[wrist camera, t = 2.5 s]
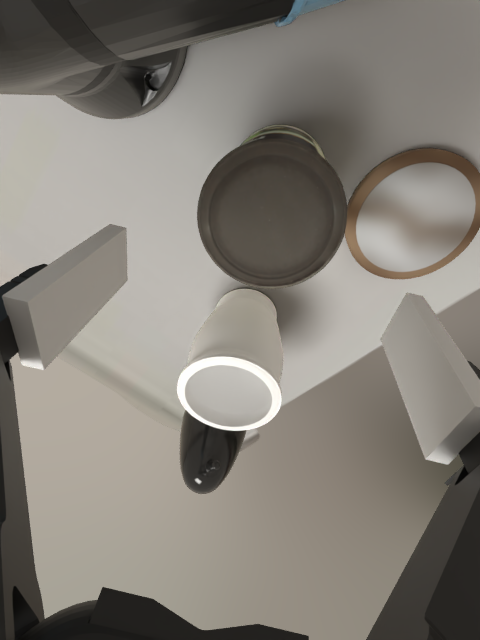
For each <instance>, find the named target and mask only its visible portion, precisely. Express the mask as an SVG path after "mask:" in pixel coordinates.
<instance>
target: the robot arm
mask: <svg viewBox="0 0 480 640" xmlns="http://www.w3.org/2000/svg"><path fill="white" fill-rule="evenodd" d="M342 1H345V0H0V94H21V95H56V96H57V97H59V98H60V99H62V100H63V101H65V102H67V103H68V104H70V105H71V106H73V107H75V108H76V109H78V110H80V111H82V112H85V113H87V114H90V115H93V116H96V117H100V118H106V119H123V118H132V117H136V116H140V115H142V114H145V113H147V112H149V111H150V110H152V109H154V108H155V107H156V106H158V105H159V104H160V103H161V102H162V101H163V100H164V99H165V98H166V97H167V95H168V94H169V93H170V91H171V90H172V88H173V87H174V85H175V83H176V81H177V79H178V77H179V74H180V72H181V69H182V66H183V63H184V59H185V55H186V50H187V45H191V44H195V43H199V42H202V41H206V40H210V39H214V38H217V37H221V36H225V35H229V34H232V33H236V32H240V31H244V30H247V29H251V28H255V27H259V26H263V25H266V24H270V23H275V25H276V26H277V27H280V26H285V25H288V24H290V23H291V22H292V21H293V20H295V19H296V18H297V16H299V15H302V14H305V13H308V12H311V11H314V10H317V9H320V8H323V7H326V6H329V5H332V4H336V3H339V2H342ZM126 281H127V238H126V228H125V227H120V226H116V225H112V224H109V225H108V226H106V227H105V228H103V229H102V230H100V231H99V232H97V233H96V234H94V235H93V236H91V237H90V238H88V239H87V240H85V241H84V242H82V243H81V244H79V245H78V246H76V247H75V248H73V249H72V250H70V251H69V252H67V253H66V254H64V255H63V256H61V257H60V258H58V259H57V260H55V261H54V262H52V263H51V264H49V265H46V264H42V265H39V266H35V267H32V268H29V269H28V270H26V271H24V272H23V273H21V274H20V275H19V276H17V277H15V278H13V279H12V280H11V282H7V283H5V284H4V285H2V286H1V287H0V640H309V637H308V636H306V635H302V634H298V633H294V632H289V631H285V630H281V629H277V628H273V627H268V626H264V625H260V624H254V625H246V626H238V627H230V628H223V629H216V630H201V629H198V628H197V627H195V626H193V625H192V624H190V623H189V622H187V621H186V620H184V619H183V618H181V617H180V616H178V615H177V614H175V613H174V612H172V611H170V610H169V609H167V608H166V607H164V606H163V605H161V604H160V603H158V602H157V601H155V600H154V599H151V598H147V597H142V596H138V595H134V594H129V593H126V592H121V591H117V590H113V589H109V588H104V587H103V588H102V590H101V593H100V595H99V598H98V600H93V601H87V602H83V603H79V604H76V605H73V606H71V607H68V608H66V609H63V610H61V611H59V612H57V613H55V614H53V615H51V616H50V617H48V618H46V619H45V618H44V611H43V604H42V598H41V593H40V589H39V585H38V581H37V577H36V571H35V564H34V556H33V547H32V539H31V530H30V521H29V513H28V504H27V495H26V486H25V478H24V469H23V461H22V453H21V443H20V435H19V426H18V418H17V409H16V402H15V401H16V400H15V391H14V384H13V374H12V366H11V363H10V359H11V357H13V356H14V355H15V354H16V353H17V352H18V353H19V357H20V360H21V364H22V365H24V366H29V367H33V368H37V369H41V370H44V369H45V368H46V367H47V366H48V365H49V364H50V363H51V362H52V361H53V360H54V359H55V358H56V357H57V356H58V354H59V353H60V352H61V351H62V350H63V349H64V348H65V347H66V346H67V345H68V344H69V343H70V342H71V341H72V339H73V338H74V337H75V336H76V335H77V334H78V333H79V332H80V331H81V330H82V329H83V328H84V327H85V325H86V324H87V323H88V322H89V321H90V320H91V319H92V318H93V317H94V316H95V315H96V314H97V313H98V311H99V310H100V309H101V308H102V307H103V306H104V305H105V304H106V303H107V302H108V301H109V300H110V299H111V298H112V296H113V295H114V294H115V293H116V292H117V291H118V290H119V289H120V288H121V287H122V286H123V285H124V284H125V282H126ZM381 342H382V344H383V347H384V350H385V352H386V355H387V358H388V360H389V363H390V366H391V369H392V371H393V374H394V377H395V379H396V382H397V384H398V387H399V390H400V393H401V395H402V398H403V401H404V403H405V406H406V409H407V411H408V414H409V417H410V419H411V422H412V425H413V427H414V430H415V433H416V436H417V438H418V441H419V443H420V446H421V449H422V452H423V454H424V457H425V459H426V460H430V461H435V462H439V463H443V464H449V463H450V462H451V461H452V460H453V459H454V458H455V457H456V456H457V455H458V454H459V455H460V457H461V459H462V462H463V464H464V465H463V466H462V467H461V468H460V469H459V470H458V471H457V472H456V473H455V474H454V475H452V476H451V478H449V479H448V480H447V481H446V482H445V484H446V485H449V484H450V485H449V487H448V489H447V491H446V493H445V495H444V497H443V498H442V500H441V502H440V504H439V506H438V508H437V510H436V511H435V513H434V515H433V517H432V519H431V521H430V522H429V524H428V526H427V528H426V530H425V532H424V534H423V535H422V537H421V539H420V541H419V543H418V545H417V546H416V548H415V550H414V552H413V554H412V556H411V558H410V560H409V561H408V563H407V565H406V567H405V569H404V571H403V572H402V574H401V576H400V578H399V580H398V582H397V584H396V585H395V587H394V589H393V591H392V593H391V595H390V596H389V598H388V600H387V602H386V604H385V606H384V608H383V610H382V611H381V613H380V615H379V617H378V619H377V621H376V622H375V624H374V626H373V628H372V630H371V632H370V634H369V635H368V637H367V639H366V640H480V370H479V369H478V368H477V367H476V366H475V365H473V364H472V363H471V362H469V361H467V360H466V359H465V357H464V356H463V355H462V353H461V351H460V350H459V349H458V347H457V346H456V344H455V343H454V341H453V340H452V338H451V337H450V335H449V334H448V332H447V331H446V329H445V328H444V326H443V325H442V323H441V322H440V320H439V319H438V318H437V316H436V314H435V313H434V312H433V310H432V309H431V307H430V306H429V304H428V303H427V301H426V300H425V298H424V297H423V296H420V295H415V294H411V293H406V295H405V297H404V298H403V300H402V302H401V304H400V305H399V307H398V309H397V311H396V312H395V314H394V316H393V318H392V319H391V321H390V323H389V325H388V326H387V328H386V330H385V332H384V334H383V335H382V337H381Z"/></svg>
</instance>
